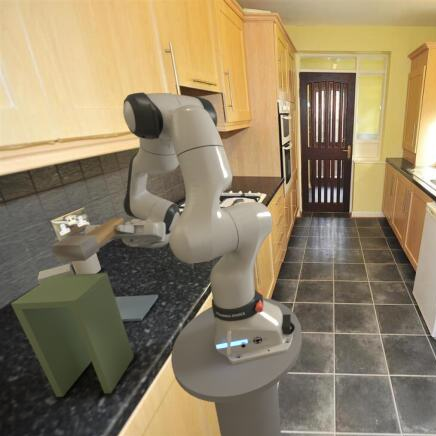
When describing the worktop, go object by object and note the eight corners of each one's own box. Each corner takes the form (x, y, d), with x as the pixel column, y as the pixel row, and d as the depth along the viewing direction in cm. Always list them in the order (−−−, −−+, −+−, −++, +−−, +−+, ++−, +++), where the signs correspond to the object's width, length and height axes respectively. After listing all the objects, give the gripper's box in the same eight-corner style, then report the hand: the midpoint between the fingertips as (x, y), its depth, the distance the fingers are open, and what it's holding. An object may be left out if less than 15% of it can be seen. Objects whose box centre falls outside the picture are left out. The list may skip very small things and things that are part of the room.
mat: (158, 296, 95) (157, 294, 95) (141, 320, 84) (140, 318, 84) (111, 299, 94) (110, 297, 94) (88, 323, 83) (87, 321, 83)
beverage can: (82, 280, 105) (72, 253, 101) (73, 274, 109) (63, 248, 105) (105, 270, 112) (97, 245, 108) (95, 265, 116) (87, 240, 112)
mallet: (131, 227, 77) (127, 214, 76) (85, 260, 60) (79, 244, 58) (109, 228, 77) (105, 215, 75) (57, 261, 59) (50, 245, 58)
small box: (82, 294, 97) (70, 263, 92) (82, 303, 92) (70, 270, 88) (52, 303, 92) (38, 271, 88) (51, 313, 88) (36, 279, 83)
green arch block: (134, 357, 71) (107, 272, 62) (111, 393, 62) (75, 300, 53) (86, 360, 70) (52, 275, 61) (56, 397, 61) (10, 303, 52)
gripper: (104, 224, 85) (69, 217, 72) (170, 222, 87) (147, 215, 73) (103, 244, 84) (67, 241, 71) (169, 241, 86) (146, 238, 72)
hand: (108, 228), depth 72 cm, fingers closed on mallet, 3 cm apart
